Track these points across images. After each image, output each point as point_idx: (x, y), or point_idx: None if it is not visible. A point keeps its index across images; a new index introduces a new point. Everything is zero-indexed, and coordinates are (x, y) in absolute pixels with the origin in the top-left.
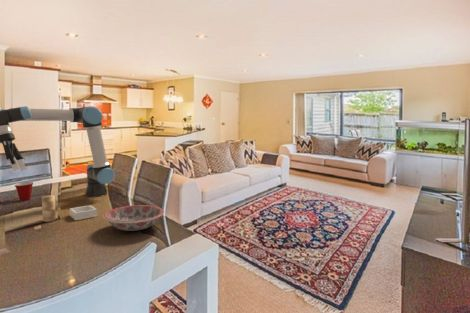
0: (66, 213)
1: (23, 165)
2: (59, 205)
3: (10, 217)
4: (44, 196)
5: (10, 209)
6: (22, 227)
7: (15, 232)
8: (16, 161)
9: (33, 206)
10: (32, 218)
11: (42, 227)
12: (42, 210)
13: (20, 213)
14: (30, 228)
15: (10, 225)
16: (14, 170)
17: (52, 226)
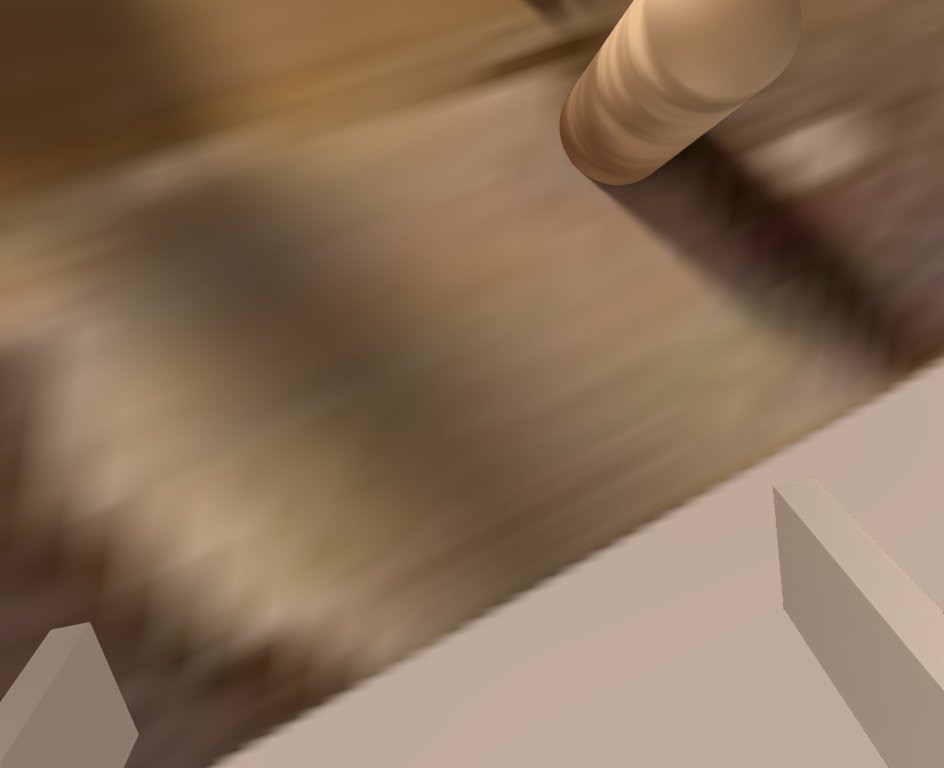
0: (403, 25)
1: (35, 747)
2: (9, 220)
3: (475, 564)
4: (712, 69)
5: None
6: (809, 287)
7: (928, 286)
8: (904, 629)
9: (15, 533)
10: (543, 318)
11: (832, 110)
12: (693, 141)
13: (331, 536)
14: (845, 204)
15: (738, 424)
16: (790, 597)
17: (817, 30)
